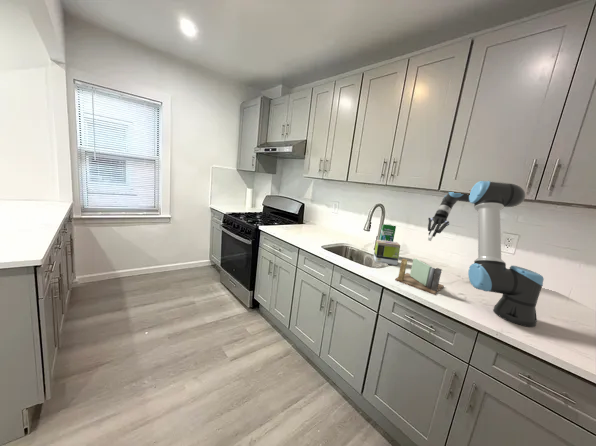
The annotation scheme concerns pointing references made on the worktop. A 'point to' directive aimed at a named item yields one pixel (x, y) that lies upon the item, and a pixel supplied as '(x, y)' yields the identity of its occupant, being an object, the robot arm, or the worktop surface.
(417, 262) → the gate
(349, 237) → the worktop surface
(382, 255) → the tea box
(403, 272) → the wooden stand
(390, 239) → the milk carton
